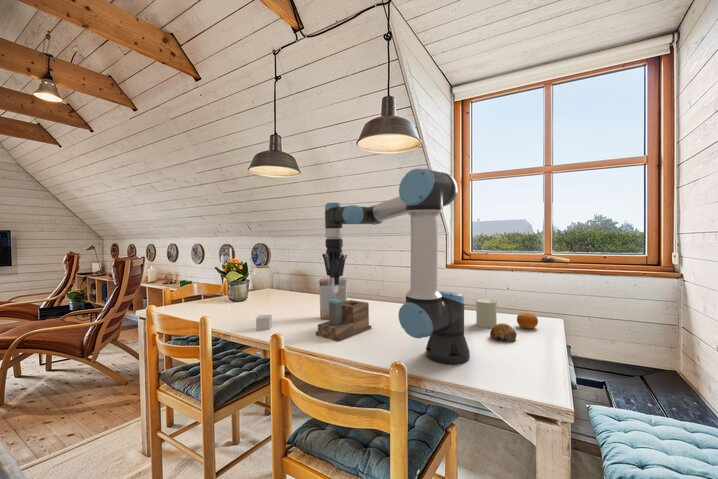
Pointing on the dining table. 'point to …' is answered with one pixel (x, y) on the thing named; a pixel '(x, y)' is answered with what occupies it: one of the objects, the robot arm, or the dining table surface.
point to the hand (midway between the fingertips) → (334, 292)
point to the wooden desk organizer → (347, 322)
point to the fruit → (527, 320)
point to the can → (486, 313)
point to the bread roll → (503, 333)
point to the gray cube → (263, 322)
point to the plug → (335, 312)
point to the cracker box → (331, 295)
